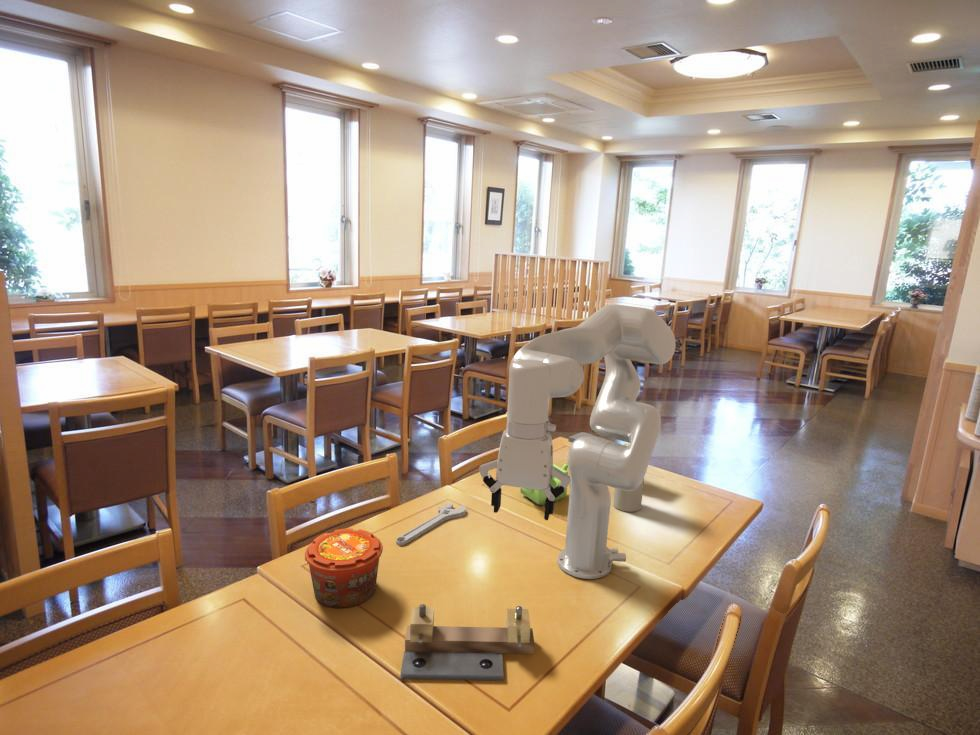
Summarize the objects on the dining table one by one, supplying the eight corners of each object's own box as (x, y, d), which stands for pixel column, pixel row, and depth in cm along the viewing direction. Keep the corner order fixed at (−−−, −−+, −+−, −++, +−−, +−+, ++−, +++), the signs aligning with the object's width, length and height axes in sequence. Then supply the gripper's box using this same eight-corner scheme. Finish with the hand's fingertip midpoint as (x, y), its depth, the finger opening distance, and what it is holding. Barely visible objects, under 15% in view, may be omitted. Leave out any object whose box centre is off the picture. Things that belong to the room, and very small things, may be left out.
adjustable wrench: (401, 549, 145) (401, 542, 145) (384, 539, 149) (384, 533, 149) (469, 513, 164) (469, 507, 163) (452, 506, 168) (452, 500, 167)
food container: (290, 601, 123) (288, 555, 120) (336, 562, 137) (335, 520, 135) (355, 622, 117) (354, 574, 115) (396, 579, 132) (396, 536, 129)
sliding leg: (527, 624, 114) (528, 599, 113) (530, 651, 107) (532, 625, 106) (506, 624, 114) (507, 599, 113) (508, 651, 107) (509, 624, 106)
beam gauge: (531, 637, 115) (533, 600, 113) (535, 664, 108) (537, 625, 106) (407, 635, 114) (408, 597, 112) (403, 662, 107) (403, 622, 105)
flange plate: (501, 658, 109) (502, 653, 109) (503, 680, 104) (503, 675, 103) (404, 656, 108) (404, 651, 108) (400, 678, 103) (400, 673, 103)
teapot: (569, 491, 180) (571, 458, 177) (568, 511, 167) (571, 476, 164) (519, 485, 182) (521, 453, 179) (514, 505, 169) (516, 471, 166)
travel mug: (644, 505, 172) (650, 447, 168) (635, 515, 166) (641, 455, 162) (618, 497, 177) (624, 441, 172) (608, 507, 170) (614, 448, 166)
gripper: (576, 426, 110) (569, 510, 114) (485, 416, 113) (482, 498, 117) (572, 440, 102) (565, 529, 106) (476, 428, 106) (472, 515, 110)
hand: (521, 513), depth 112 cm, fingers open, 9 cm apart
